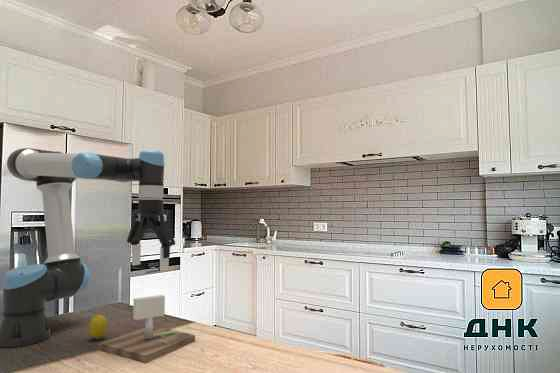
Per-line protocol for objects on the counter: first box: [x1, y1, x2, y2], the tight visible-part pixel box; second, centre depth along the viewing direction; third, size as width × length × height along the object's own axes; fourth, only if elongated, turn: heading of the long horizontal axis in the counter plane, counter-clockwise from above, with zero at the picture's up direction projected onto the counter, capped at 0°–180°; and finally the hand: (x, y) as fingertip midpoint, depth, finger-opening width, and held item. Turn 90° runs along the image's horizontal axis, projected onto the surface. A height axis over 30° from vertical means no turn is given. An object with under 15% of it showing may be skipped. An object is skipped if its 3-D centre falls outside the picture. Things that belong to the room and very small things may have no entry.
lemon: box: [88, 313, 108, 340], centre depth 127 cm, size 6×6×8 cm
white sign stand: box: [132, 294, 178, 339], centre depth 122 cm, size 14×2×12 cm, turn 126°
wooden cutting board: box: [98, 325, 196, 364], centre depth 121 cm, size 20×20×2 cm
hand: (149, 266), depth 122 cm, fingers open, 13 cm apart
